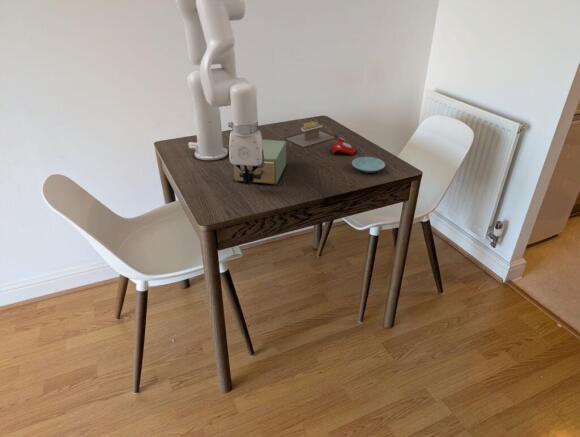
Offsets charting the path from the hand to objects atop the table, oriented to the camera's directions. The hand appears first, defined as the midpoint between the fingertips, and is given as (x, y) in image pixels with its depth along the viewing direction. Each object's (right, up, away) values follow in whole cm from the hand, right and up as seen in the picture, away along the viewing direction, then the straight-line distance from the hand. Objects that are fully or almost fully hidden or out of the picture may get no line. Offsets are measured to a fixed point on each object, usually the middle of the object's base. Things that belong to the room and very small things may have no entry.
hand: (248, 182), depth 136 cm
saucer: (+41, +6, +18) cm, 45 cm away
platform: (+22, +22, +44) cm, 54 cm away
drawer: (+2, +4, +11) cm, 12 cm away
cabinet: (+3, +5, +15) cm, 16 cm away
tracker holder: (+34, +15, +33) cm, 50 cm away
